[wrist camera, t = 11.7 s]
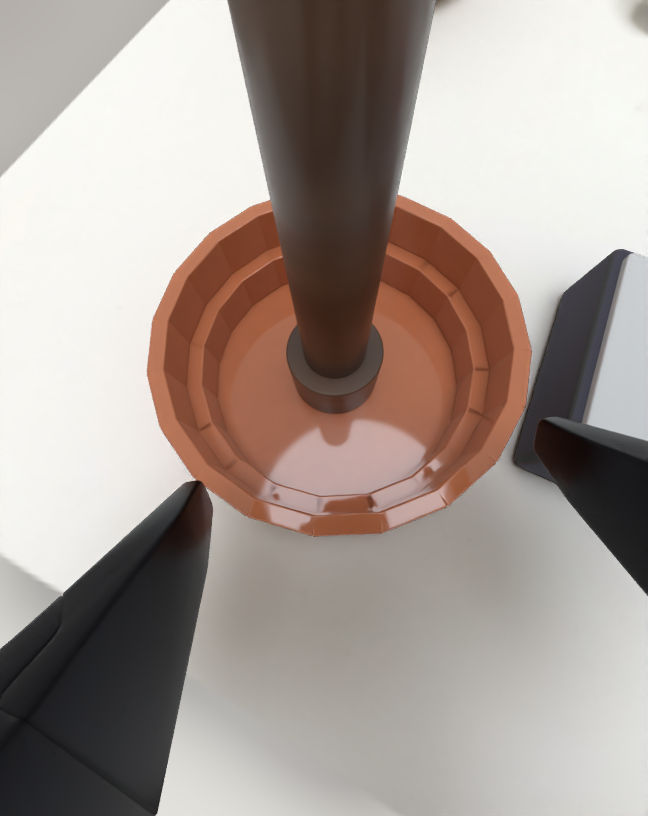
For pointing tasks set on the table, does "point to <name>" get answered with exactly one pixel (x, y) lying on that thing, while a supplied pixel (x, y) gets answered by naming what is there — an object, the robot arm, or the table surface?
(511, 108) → the table surface
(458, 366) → the mixing bowl
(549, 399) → the calculator
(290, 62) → the pestle
